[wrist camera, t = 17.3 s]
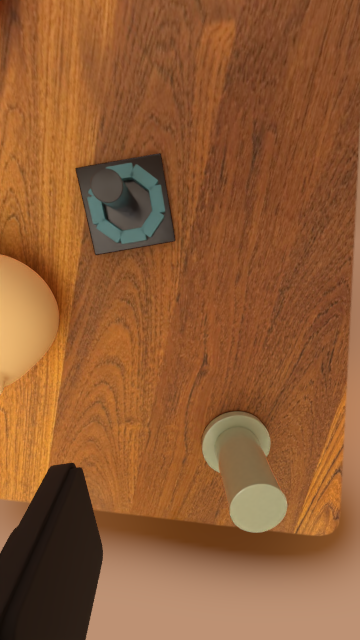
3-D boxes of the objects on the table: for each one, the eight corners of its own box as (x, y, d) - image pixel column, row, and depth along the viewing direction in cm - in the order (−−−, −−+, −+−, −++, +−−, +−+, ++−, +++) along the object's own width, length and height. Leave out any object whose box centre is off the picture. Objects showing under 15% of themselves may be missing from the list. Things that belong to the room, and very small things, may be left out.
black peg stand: (160, 155, 31) (158, 102, 19) (175, 241, 32) (181, 240, 21) (77, 170, 31) (24, 125, 19) (97, 254, 32) (59, 261, 21)
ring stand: (264, 405, 37) (299, 462, 28) (271, 463, 39) (306, 536, 29) (196, 417, 37) (207, 479, 28) (206, 475, 39) (220, 552, 29)
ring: (156, 161, 30) (156, 158, 29) (169, 236, 31) (169, 235, 30) (84, 174, 30) (80, 171, 29) (100, 248, 31) (98, 248, 30)
